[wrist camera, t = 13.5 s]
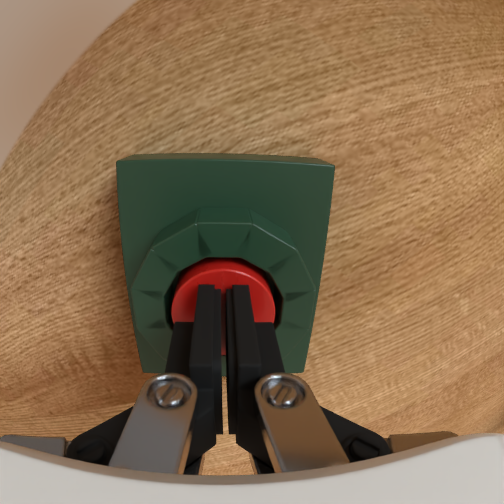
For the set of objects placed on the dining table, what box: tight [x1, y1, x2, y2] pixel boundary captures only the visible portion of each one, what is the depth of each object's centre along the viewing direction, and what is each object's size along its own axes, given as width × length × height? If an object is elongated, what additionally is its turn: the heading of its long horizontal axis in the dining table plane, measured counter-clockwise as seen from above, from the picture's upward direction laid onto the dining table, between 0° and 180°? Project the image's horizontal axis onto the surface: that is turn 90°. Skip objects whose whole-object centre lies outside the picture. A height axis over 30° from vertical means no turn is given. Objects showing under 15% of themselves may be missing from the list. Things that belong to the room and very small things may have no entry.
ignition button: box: [171, 257, 275, 355], centre depth 12 cm, size 4×4×2 cm
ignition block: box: [116, 153, 335, 376], centre depth 13 cm, size 10×8×4 cm
